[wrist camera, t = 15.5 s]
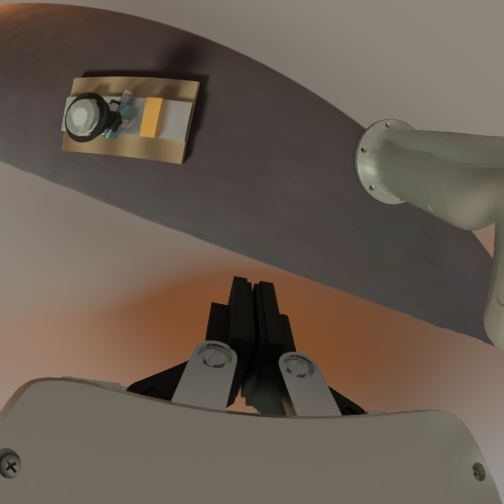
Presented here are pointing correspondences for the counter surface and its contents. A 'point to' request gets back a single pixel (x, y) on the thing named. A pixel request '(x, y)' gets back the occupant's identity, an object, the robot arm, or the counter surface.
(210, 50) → the counter surface
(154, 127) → the end stops
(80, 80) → the din panel
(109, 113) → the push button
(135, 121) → the din rail
